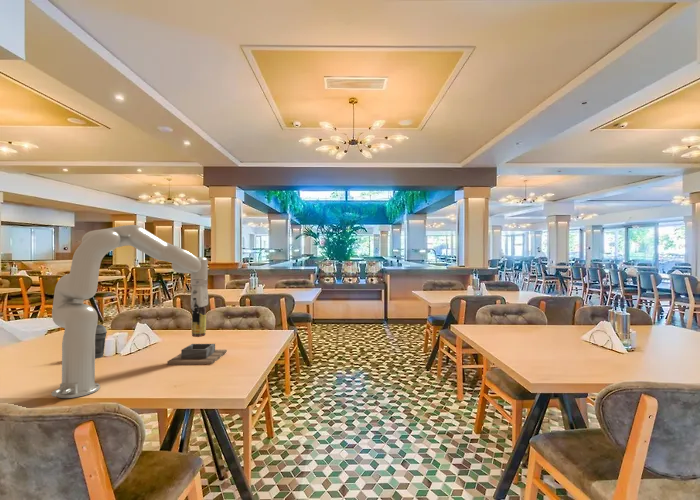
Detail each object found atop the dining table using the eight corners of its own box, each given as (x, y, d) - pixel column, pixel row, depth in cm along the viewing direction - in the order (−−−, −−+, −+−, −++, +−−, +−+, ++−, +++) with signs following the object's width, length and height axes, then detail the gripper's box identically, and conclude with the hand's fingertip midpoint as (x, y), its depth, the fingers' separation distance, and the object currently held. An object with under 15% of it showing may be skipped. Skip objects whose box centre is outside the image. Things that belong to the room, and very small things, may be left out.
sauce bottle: (188, 336, 170) (188, 294, 171) (199, 334, 176) (199, 293, 176) (198, 338, 167) (198, 295, 168) (209, 335, 173) (209, 294, 173)
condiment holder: (212, 364, 161) (212, 352, 162) (167, 364, 161) (167, 352, 161) (226, 352, 181) (226, 341, 182) (186, 352, 181) (187, 341, 181)
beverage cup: (97, 359, 169) (97, 317, 170) (84, 358, 171) (84, 316, 171) (110, 355, 177) (110, 314, 177) (98, 354, 178) (98, 314, 178)
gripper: (199, 284, 163) (199, 323, 163) (213, 281, 181) (213, 317, 180) (183, 284, 163) (183, 324, 163) (198, 281, 181) (198, 317, 180)
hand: (199, 320), depth 172 cm, fingers closed on sauce bottle, 6 cm apart
